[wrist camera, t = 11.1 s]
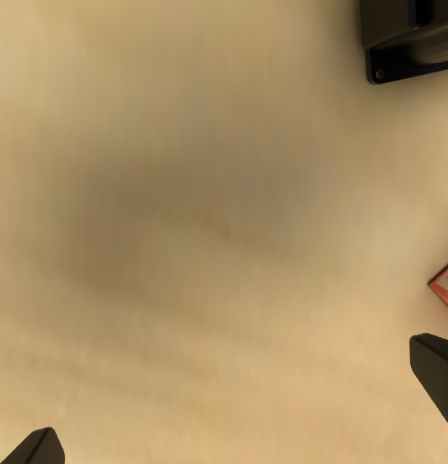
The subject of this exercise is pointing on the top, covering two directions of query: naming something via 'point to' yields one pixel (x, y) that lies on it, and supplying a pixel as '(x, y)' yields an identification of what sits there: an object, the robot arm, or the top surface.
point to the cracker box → (441, 286)
